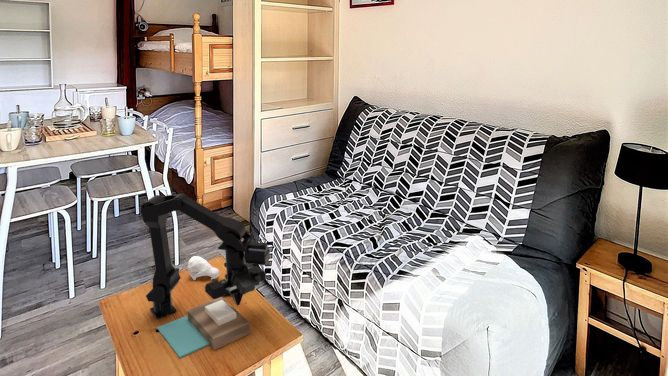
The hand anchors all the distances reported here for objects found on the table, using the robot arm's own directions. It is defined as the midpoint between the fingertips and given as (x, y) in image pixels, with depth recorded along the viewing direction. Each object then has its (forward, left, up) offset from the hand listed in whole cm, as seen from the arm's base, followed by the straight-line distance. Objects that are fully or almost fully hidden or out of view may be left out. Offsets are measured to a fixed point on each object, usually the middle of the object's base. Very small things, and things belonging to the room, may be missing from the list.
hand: (237, 304), depth 141 cm
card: (0, -6, 0) cm, 6 cm away
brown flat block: (0, -7, -5) cm, 9 cm away
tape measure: (-16, +6, -6) cm, 18 cm away
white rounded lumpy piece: (-30, +3, -5) cm, 31 cm away
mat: (-2, -17, -5) cm, 18 cm away
